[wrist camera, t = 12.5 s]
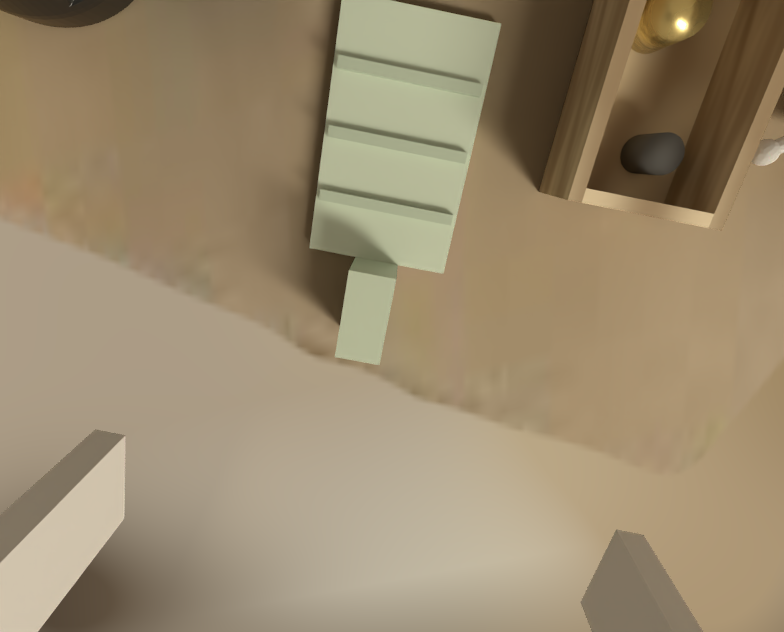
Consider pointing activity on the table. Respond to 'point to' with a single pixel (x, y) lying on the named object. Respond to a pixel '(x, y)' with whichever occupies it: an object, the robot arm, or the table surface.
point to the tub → (669, 110)
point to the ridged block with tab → (396, 150)
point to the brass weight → (669, 23)
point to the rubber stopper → (653, 153)
